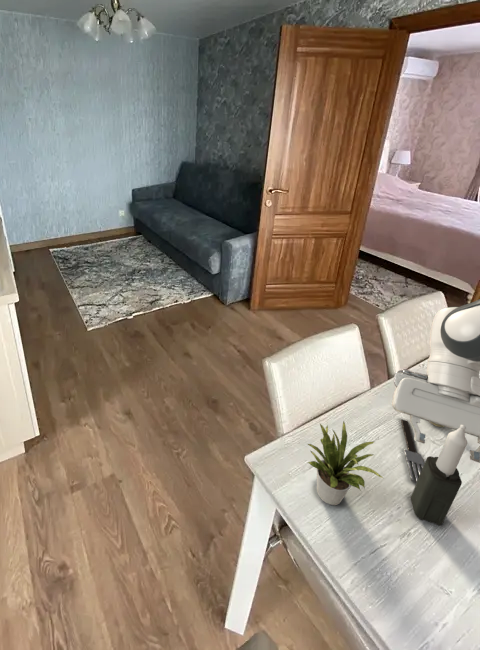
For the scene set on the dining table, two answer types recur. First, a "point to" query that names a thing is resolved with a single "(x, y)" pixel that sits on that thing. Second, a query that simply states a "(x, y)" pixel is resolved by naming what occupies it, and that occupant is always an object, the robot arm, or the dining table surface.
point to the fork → (411, 452)
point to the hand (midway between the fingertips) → (446, 451)
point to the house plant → (338, 467)
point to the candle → (439, 480)
